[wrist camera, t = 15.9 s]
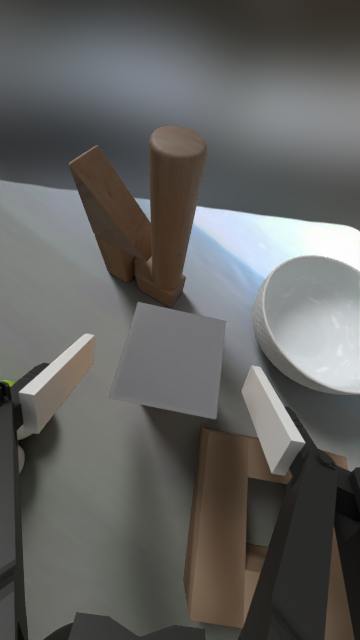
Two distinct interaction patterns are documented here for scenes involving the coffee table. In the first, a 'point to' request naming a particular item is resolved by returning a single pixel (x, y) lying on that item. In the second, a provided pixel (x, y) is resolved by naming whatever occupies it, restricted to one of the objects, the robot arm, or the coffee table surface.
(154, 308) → the plug
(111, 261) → the wooden v-shaped piece
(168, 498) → the coffee table surface
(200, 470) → the header block
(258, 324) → the cereal bowl
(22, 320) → the coffee table surface
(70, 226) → the coffee table surface
